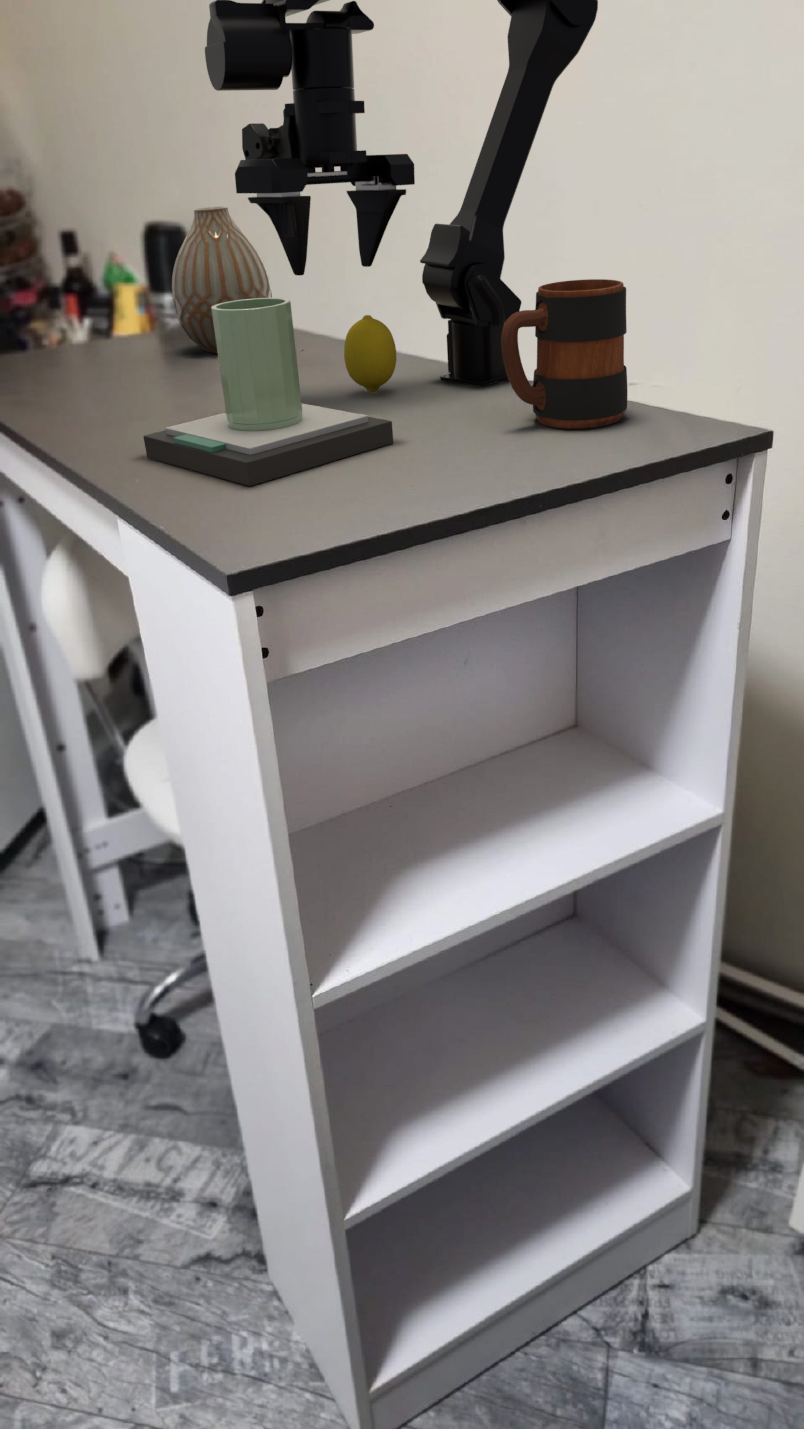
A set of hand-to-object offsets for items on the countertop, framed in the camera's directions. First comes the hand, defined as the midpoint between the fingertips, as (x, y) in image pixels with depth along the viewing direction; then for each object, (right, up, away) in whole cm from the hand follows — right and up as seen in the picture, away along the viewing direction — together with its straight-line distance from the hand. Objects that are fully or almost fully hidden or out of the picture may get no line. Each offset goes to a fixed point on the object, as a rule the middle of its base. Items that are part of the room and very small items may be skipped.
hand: (333, 270), depth 109 cm
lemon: (+4, -10, +9) cm, 14 cm away
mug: (+22, -17, -7) cm, 29 cm away
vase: (-17, +6, +41) cm, 44 cm away
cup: (-5, -18, -11) cm, 21 cm away
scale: (-5, -20, -9) cm, 23 cm away
